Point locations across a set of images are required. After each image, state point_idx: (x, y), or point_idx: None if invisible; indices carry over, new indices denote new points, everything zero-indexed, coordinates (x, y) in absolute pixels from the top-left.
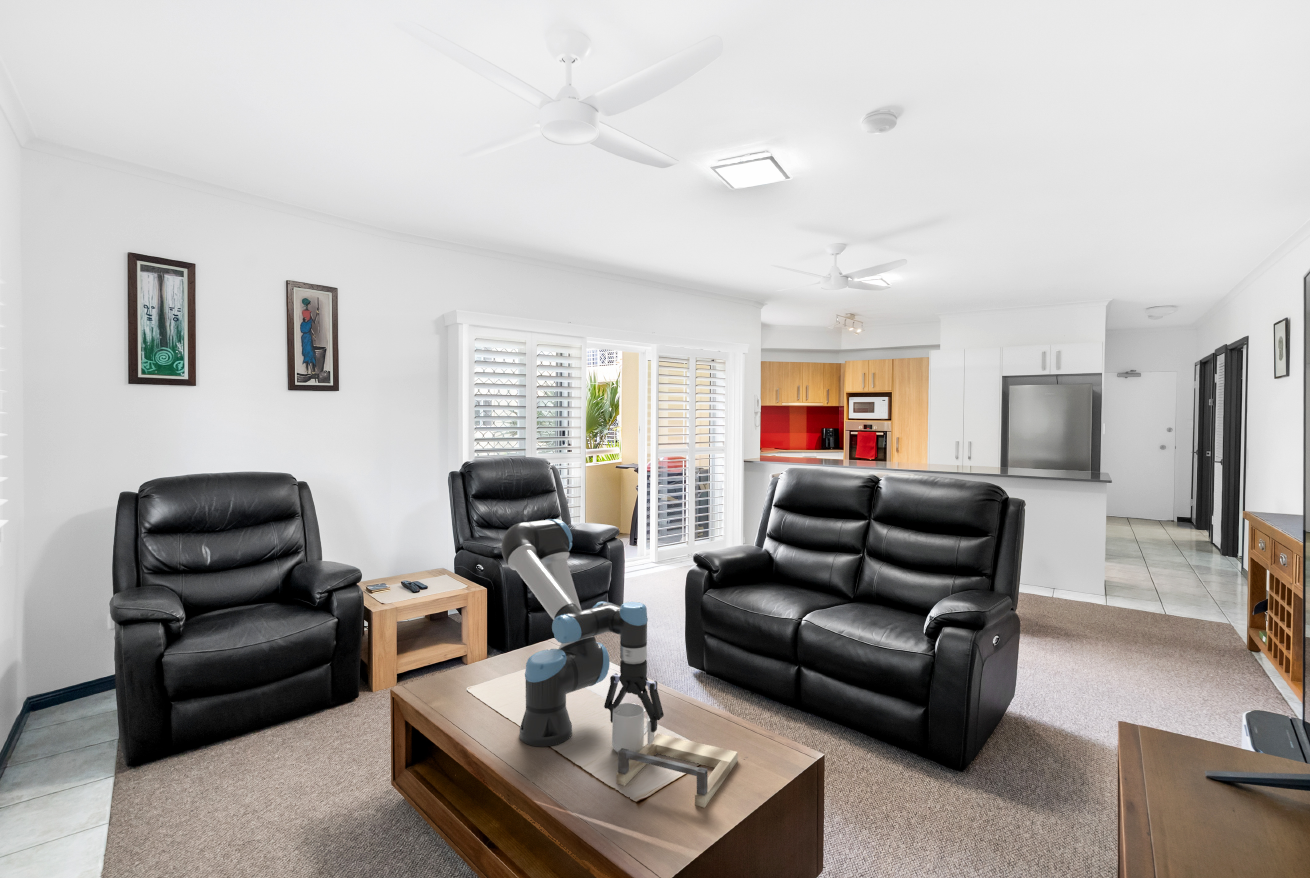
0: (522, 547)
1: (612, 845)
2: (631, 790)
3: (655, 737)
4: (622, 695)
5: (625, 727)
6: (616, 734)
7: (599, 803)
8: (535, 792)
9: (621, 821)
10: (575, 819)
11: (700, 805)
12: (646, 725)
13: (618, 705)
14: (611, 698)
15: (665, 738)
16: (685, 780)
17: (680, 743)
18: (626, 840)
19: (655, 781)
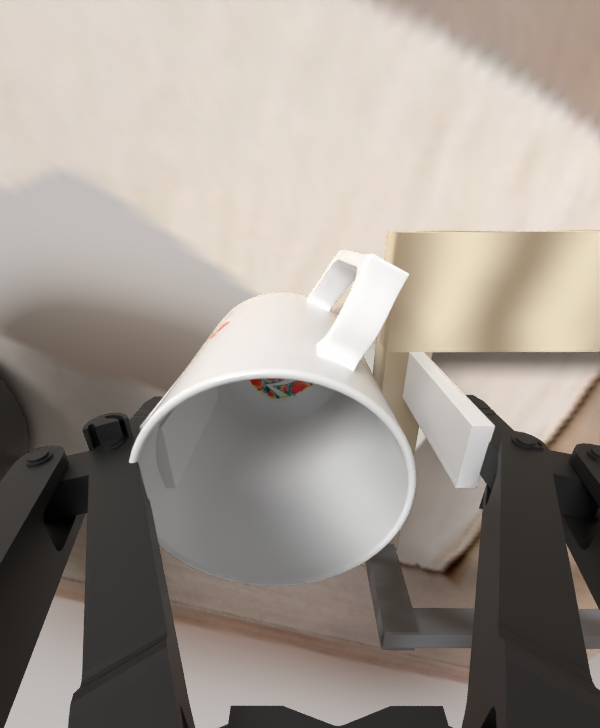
0: None
1: (442, 666)
2: (411, 544)
3: (403, 285)
4: (185, 691)
5: (312, 515)
6: (257, 474)
7: (356, 601)
8: (191, 617)
9: None
10: (335, 644)
11: None
12: (339, 263)
13: (140, 471)
14: (45, 571)
15: (463, 270)
16: (571, 452)
17: (560, 286)
18: (464, 653)
19: (468, 490)
